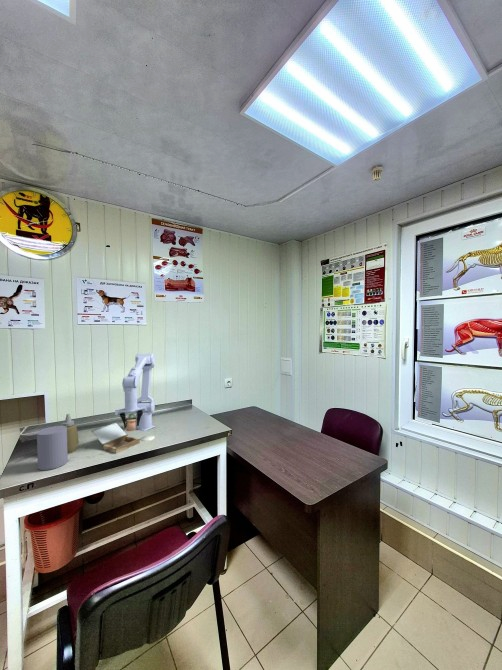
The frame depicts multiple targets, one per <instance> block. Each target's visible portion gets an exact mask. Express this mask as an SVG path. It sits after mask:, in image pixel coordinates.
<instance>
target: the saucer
mask: <svg viewBox="0 0 502 670" xmlns="http://www.w3.org/2000/svg"><path fill="white" fill-rule="evenodd" d="M155 437H156V436H155V435H152V434H150V435H149V434H148V435H144V436H142V437H141V438H140V441H142V442H149V441H152V440H154V439H155Z"/></svg>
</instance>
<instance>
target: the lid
mask: <svg viewBox="0 0 502 670" xmlns="http://www.w3.org/2000/svg"><path fill="white" fill-rule="evenodd" d="M122 429H123V428H121V426H119V424H118V423H117V422H113V423H110V424H108V425H104V426H101V427H98V428H95V429H92V430H91V433H92V434H93V435H94V437H96V439H97V440H98V441H99V442H100V444H101V445H102V446H103V444H104V443H106V442H109V441H111V440H114V439H116V438H119V437H121V436H124V435H126V434H127V433H126V432H125V430H124V431H123V430H122Z"/></svg>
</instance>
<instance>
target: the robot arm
mask: <svg viewBox="0 0 502 670" xmlns="http://www.w3.org/2000/svg"><path fill="white" fill-rule="evenodd" d="M134 361H135V365H134V367H131V369H130V370H129V372H128V374H127V376H125V377H123V378H122V383H121V384H122V389H123V392H124V408H121V409H116V410H115V411H114V414H115V416H118V415H119V417H120V419H121V421H122V423H123V429H126V414H131V413H136V414H135V416H134V417H136V418H137V421H136V430H138V431H142V432H145V431H148V430H151V429H153V428H155V427H156V425H153V418H152V417H153V414H152V413H153V412H154V411H155V407H156V406H155V405H156V404H155V399H154V398H153V397H152V396H151V382H152V381H151V379H152V369H154V368H155V365H156V356H155V354H154V353H137V354H136V355H135V359H134ZM141 375H142V376H141ZM141 377H142V378H141ZM140 378H141V395H140V397H139V398H138V386H139V383H140Z"/></svg>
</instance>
